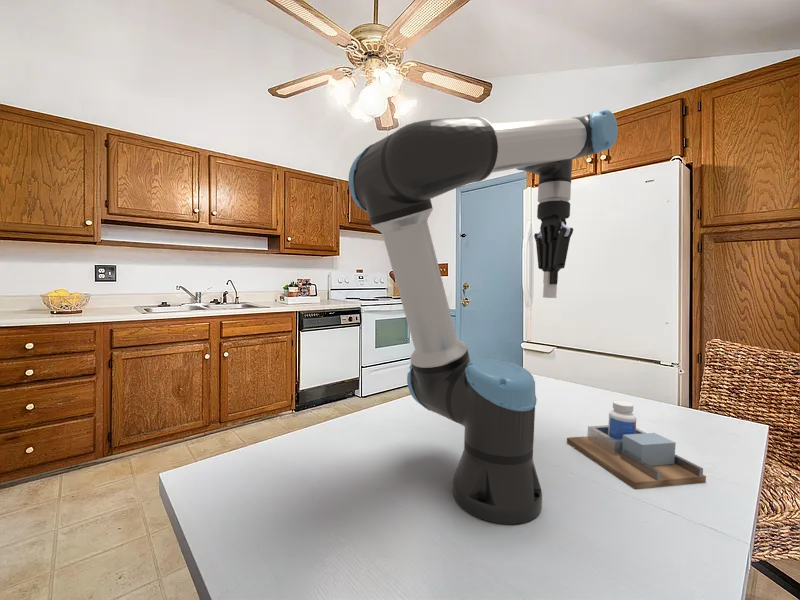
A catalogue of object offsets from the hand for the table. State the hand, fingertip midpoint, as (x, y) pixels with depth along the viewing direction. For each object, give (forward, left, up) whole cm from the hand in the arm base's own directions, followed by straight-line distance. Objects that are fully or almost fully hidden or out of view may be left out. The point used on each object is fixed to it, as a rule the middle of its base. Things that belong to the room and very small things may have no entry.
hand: (549, 297), depth 93 cm
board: (+10, -17, -34) cm, 39 cm away
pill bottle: (+12, -12, -33) cm, 37 cm away
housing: (+12, -19, -33) cm, 40 cm away
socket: (+12, -12, -33) cm, 37 cm away
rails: (+12, -22, -33) cm, 42 cm away
